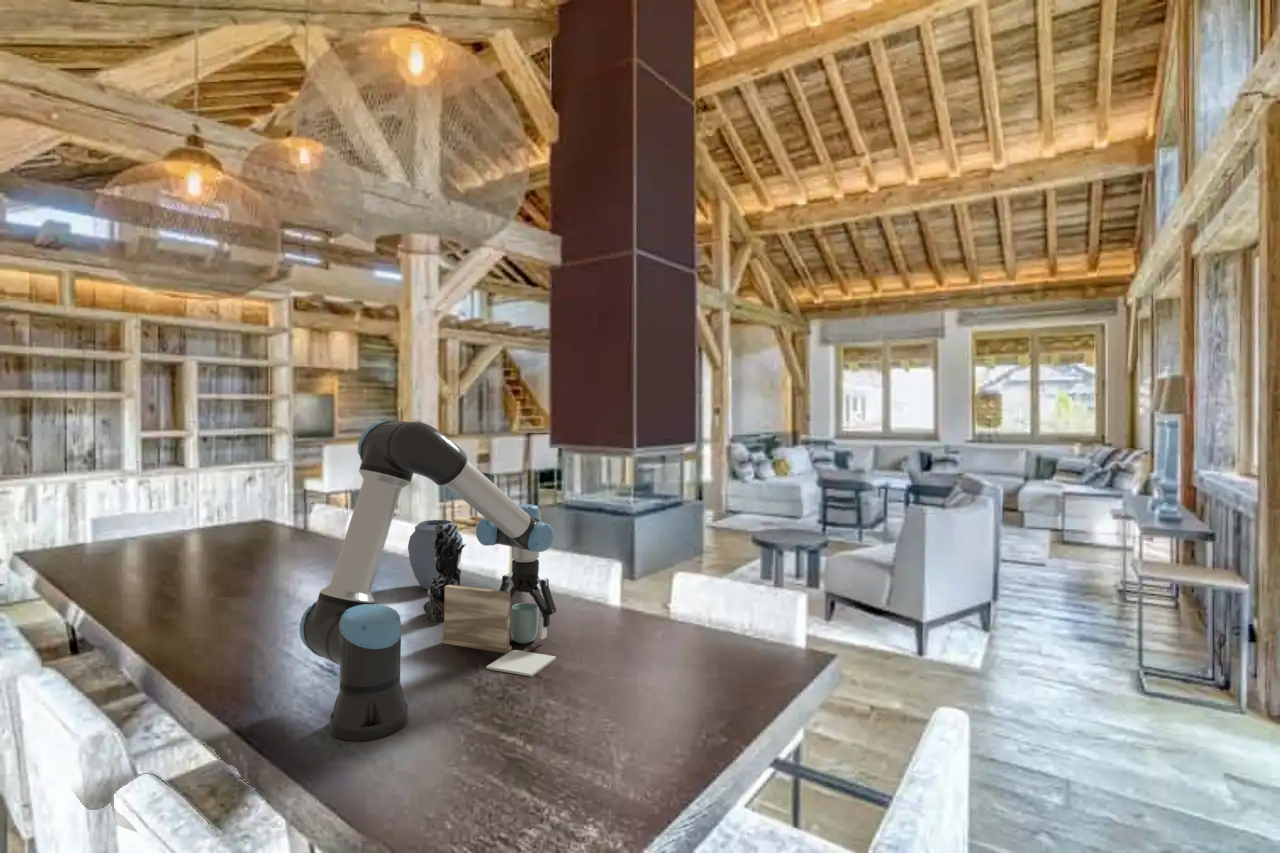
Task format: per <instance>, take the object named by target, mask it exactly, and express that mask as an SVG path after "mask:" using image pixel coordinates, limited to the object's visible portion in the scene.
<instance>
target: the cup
mask: <svg viewBox="0 0 1280 853" xmlns="http://www.w3.org/2000/svg"><path fill="white" fill-rule="evenodd" d="M539 611H540V609H539V607H538V606H537V604H536V603H534V602H519V603H514V604H513V605H511V606H510V634H511V638H512V639H513V641H514V642H515V643H517V644H529V643H531V642H533V641H534V640H535V639H536V637H537V635H538V631H539V630H538V629H539V621H540V616H539V614H540V612H539Z"/></svg>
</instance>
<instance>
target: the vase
mask: <svg viewBox="0 0 1280 853" xmlns="http://www.w3.org/2000/svg"><path fill="white" fill-rule="evenodd" d="M438 520H439V519H432V520H431V519H429V520H423V521H421V522H419V523H418V524H417V525H415V526H414V531H413V533H412V534H411V535H410V536H409V541H408V543H407V544H408V545H407V549H408V550H407V551H408V557H409V558H408V559H409V563H410V567H411V569H412V572H413V574H414V578H415V580H417V582H418V584H419V585H420V586H421V588H422V589H424V590H426V591H428V590H429V589H430V588H431V582H432V579H433V578H435V579H437V577H438V576H439V575H440V573H437V571H436V569H435V561H434V560H435V553H436V552H435V547H434V543H435V539H436V535H437V534H436V529H435V526H437V523H436V521H438ZM440 520H441V521H442V524H443V528H446V527H448V524H450V525H452V524H454V525H453V526H452V527H451V528H450V531H451V530H452V529H453V528H454V526H456V524H455V523H454V522H452V521H451V520H447V519H440ZM457 528H458V527H457ZM457 528H456V530H455V531H454V533H453V534H452V536H451V537H454V536H455V532H457V531H458V530H457ZM450 531H449V533H450ZM457 538H458V539H457V541H456V543H457V542H459V541H460V540H461V539H462V538H463V537H462V534H461V533H460V531H458V532H457ZM459 544H460V546H459V548H460V547H461V546H462V545H464V542H463V539H462V540H461V542H460V543H459ZM459 548H458V549H459ZM462 553H463V551H462V552H461V553H460V554H459V556H458V563H457V566H458V567H459V565H460V563H461V559H462V558H461V557H462Z"/></svg>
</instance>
